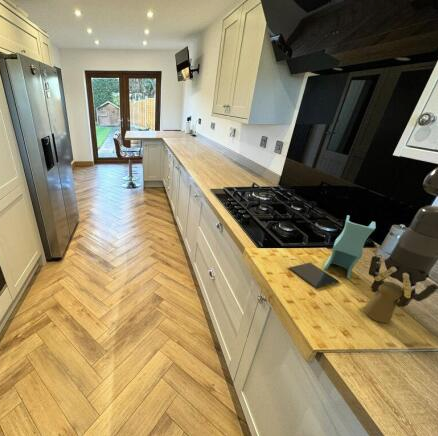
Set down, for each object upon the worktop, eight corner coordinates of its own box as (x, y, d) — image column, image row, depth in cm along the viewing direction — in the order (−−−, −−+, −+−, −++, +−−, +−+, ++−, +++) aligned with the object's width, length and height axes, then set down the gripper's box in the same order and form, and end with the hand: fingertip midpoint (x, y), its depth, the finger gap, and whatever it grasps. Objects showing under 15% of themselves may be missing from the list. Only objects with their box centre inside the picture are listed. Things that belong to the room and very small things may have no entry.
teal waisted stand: (351, 268, 89) (375, 222, 80) (349, 278, 84) (375, 229, 75) (326, 259, 94) (347, 214, 85) (323, 268, 88) (345, 221, 80)
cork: (395, 320, 67) (416, 291, 62) (380, 325, 66) (400, 295, 61) (372, 304, 72) (389, 276, 67) (358, 308, 71) (374, 280, 66)
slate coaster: (309, 263, 91) (310, 262, 91) (338, 282, 82) (339, 280, 82) (288, 268, 88) (289, 267, 88) (315, 288, 79) (316, 287, 78)
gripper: (469, 261, 54) (428, 314, 61) (393, 231, 66) (366, 279, 73) (451, 267, 51) (411, 321, 59) (376, 235, 64) (350, 284, 71)
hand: (386, 297), depth 66 cm, fingers closed on cork, 5 cm apart
